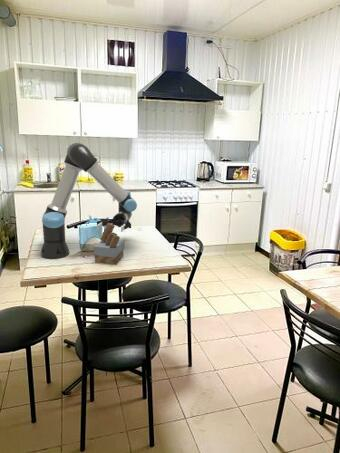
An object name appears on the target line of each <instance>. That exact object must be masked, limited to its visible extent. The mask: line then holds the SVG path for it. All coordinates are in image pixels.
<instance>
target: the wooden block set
mask: <svg viewBox="0 0 340 453" xmlns="http://www.w3.org/2000/svg"><path fill="white" fill-rule="evenodd" d="M115 226H116V225H113V224H112V223H107V225H106V227H105V230H104V232H103V233H101V236H100V241H104V242H106V244H108V245H110V246H111V247H114V248H116V246H117V243H118V241H119V240H120V239H121V237H120V236H119V235H118V234H117V233H116V232H113V230H114V228H115Z"/></svg>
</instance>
